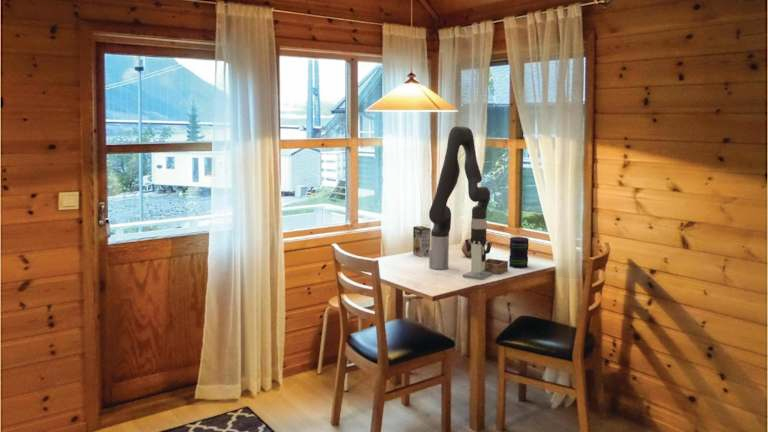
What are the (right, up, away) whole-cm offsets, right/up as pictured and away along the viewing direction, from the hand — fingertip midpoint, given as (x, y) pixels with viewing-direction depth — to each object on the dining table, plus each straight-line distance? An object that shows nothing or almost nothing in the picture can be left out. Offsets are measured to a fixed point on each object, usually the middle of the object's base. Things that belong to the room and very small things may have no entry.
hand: (478, 260), depth 330 cm
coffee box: (-25, 0, +50) cm, 56 cm away
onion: (+2, -1, +46) cm, 46 cm away
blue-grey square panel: (0, -8, +1) cm, 8 cm away
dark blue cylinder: (+25, -5, +23) cm, 34 cm away
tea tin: (0, -5, +1) cm, 5 cm away
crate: (+10, -6, +11) cm, 16 cm away
